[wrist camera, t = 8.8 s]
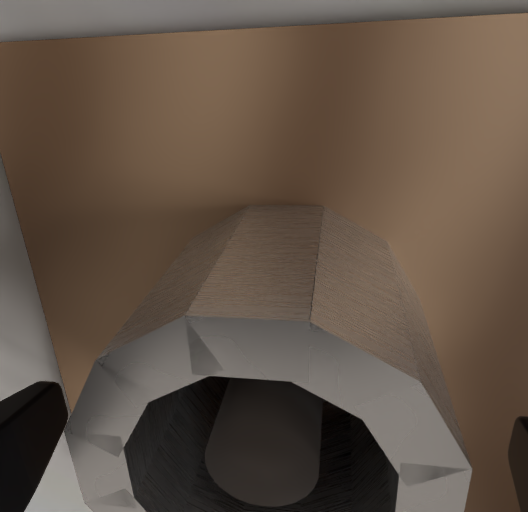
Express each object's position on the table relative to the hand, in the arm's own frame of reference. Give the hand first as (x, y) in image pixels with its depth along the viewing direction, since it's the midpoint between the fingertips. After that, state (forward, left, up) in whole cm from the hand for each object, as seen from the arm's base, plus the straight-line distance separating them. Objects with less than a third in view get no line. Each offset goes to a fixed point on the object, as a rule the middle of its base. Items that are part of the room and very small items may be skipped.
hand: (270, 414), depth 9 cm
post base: (0, 0, -4) cm, 4 cm away
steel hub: (0, 0, -3) cm, 3 cm away
